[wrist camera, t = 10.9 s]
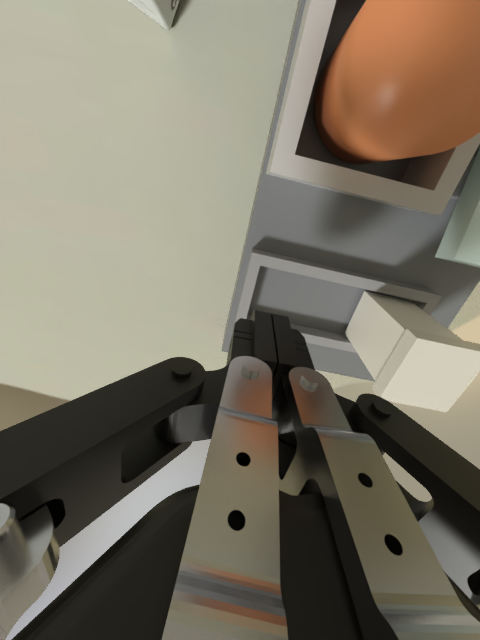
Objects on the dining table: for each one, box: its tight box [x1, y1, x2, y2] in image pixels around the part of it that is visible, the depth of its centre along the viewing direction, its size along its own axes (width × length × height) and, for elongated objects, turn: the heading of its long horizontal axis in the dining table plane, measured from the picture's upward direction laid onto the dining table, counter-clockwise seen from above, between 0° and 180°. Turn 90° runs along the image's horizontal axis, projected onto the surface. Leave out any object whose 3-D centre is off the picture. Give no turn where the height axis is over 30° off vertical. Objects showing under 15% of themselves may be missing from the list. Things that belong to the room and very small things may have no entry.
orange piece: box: [315, 0, 480, 164], centre depth 9 cm, size 5×5×5 cm
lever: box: [345, 291, 480, 412], centre depth 14 cm, size 3×3×6 cm
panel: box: [222, 0, 480, 381], centre depth 14 cm, size 20×14×6 cm
